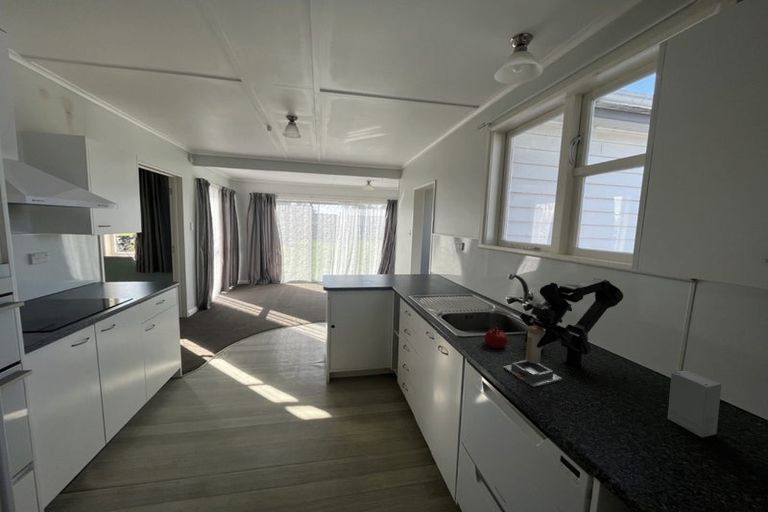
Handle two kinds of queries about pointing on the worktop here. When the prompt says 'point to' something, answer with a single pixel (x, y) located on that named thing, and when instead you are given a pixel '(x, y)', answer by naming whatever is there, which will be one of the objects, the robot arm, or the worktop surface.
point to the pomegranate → (496, 338)
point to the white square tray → (532, 373)
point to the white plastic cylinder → (533, 344)
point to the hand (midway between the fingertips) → (531, 344)
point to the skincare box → (694, 403)
